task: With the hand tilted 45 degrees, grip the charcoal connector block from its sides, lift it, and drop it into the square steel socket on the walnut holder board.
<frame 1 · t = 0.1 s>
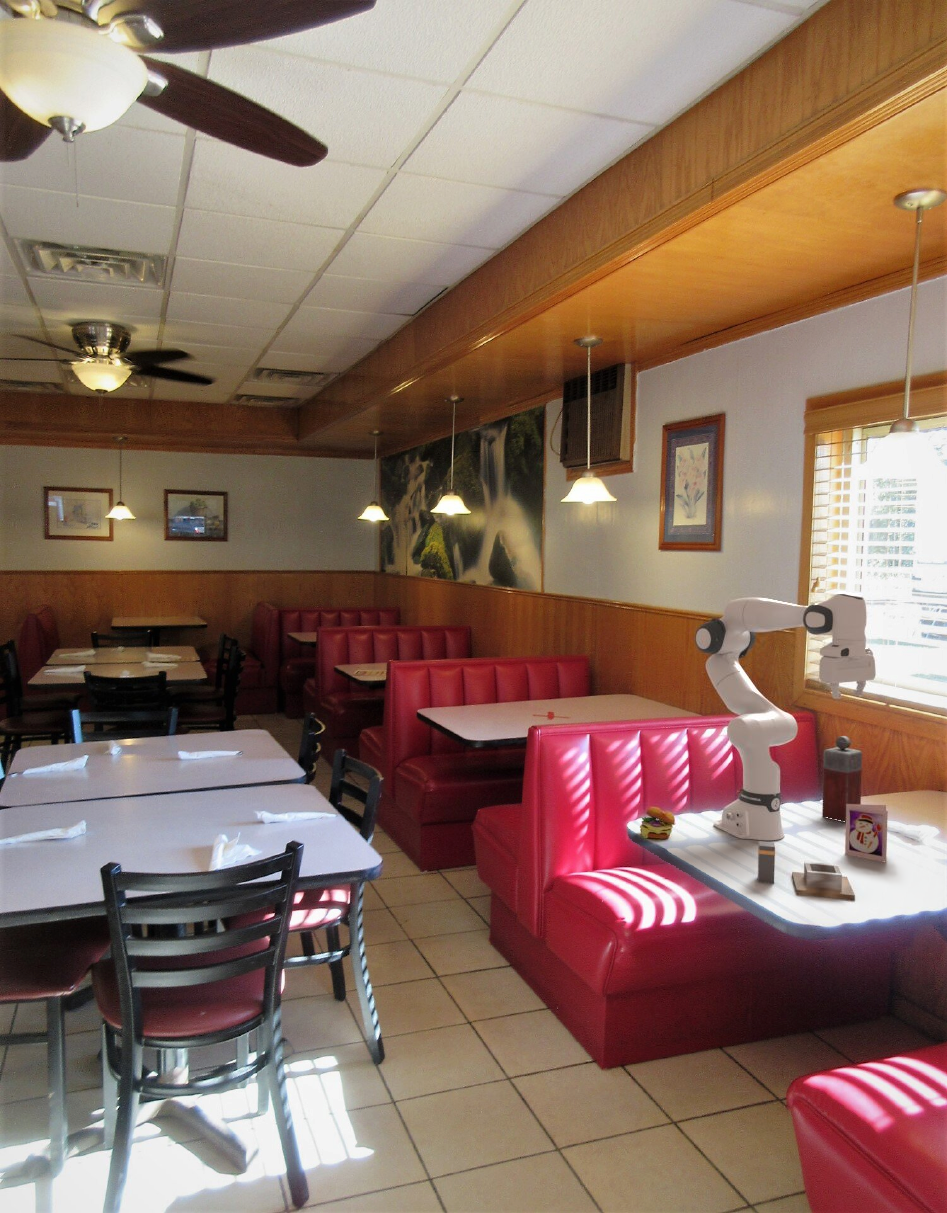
hand: (847, 697, 249), 48 cm above the table, fingers open, 8 cm apart
connector: (765, 880, 237), on the table
cheeseburger: (656, 836, 276), on the table
holder: (822, 887, 231), on the table
pepper mill: (843, 817, 298), on the table
greeting card: (868, 856, 258), on the table
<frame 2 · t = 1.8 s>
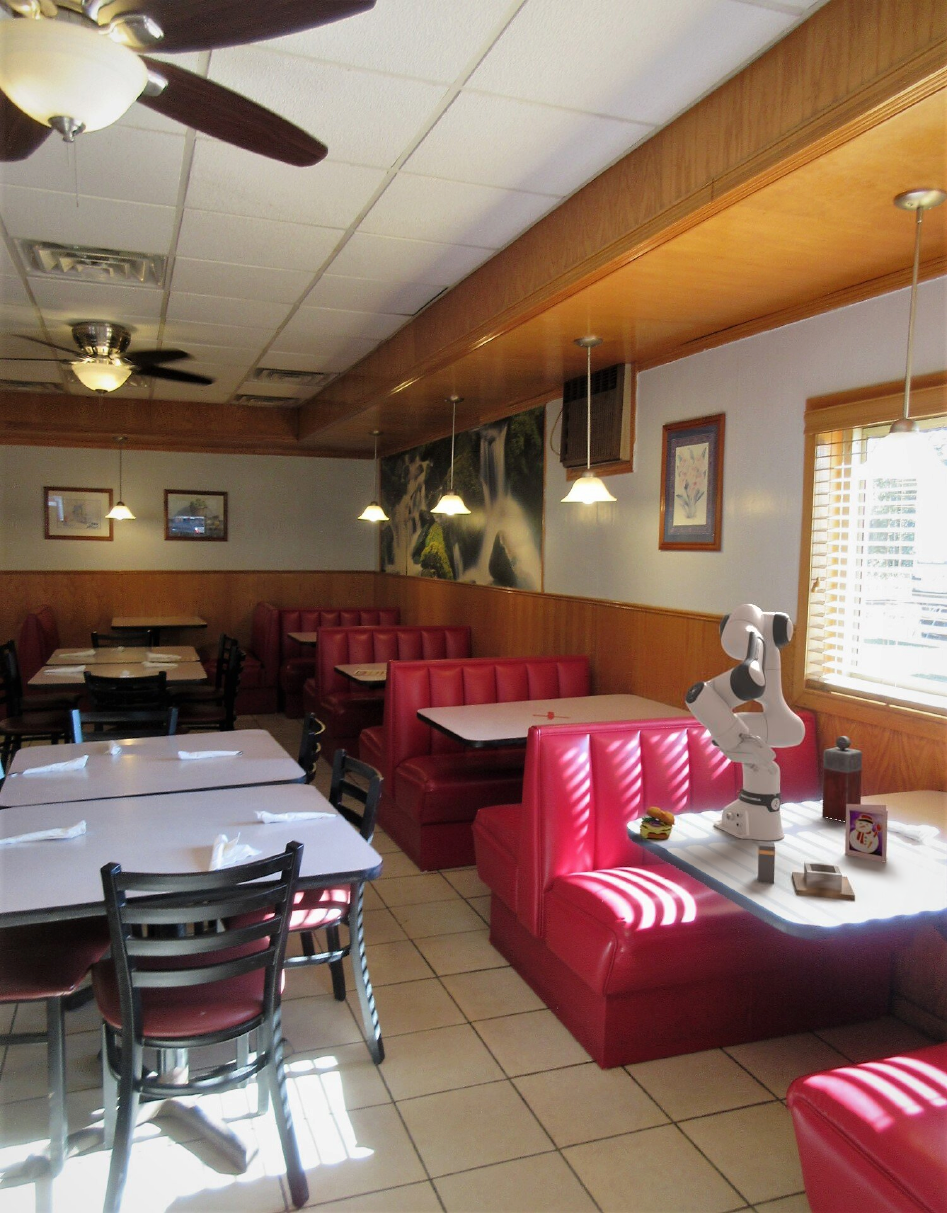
hand: (765, 771, 235), 30 cm above the table, fingers open, 8 cm apart
nothing on the table moved.
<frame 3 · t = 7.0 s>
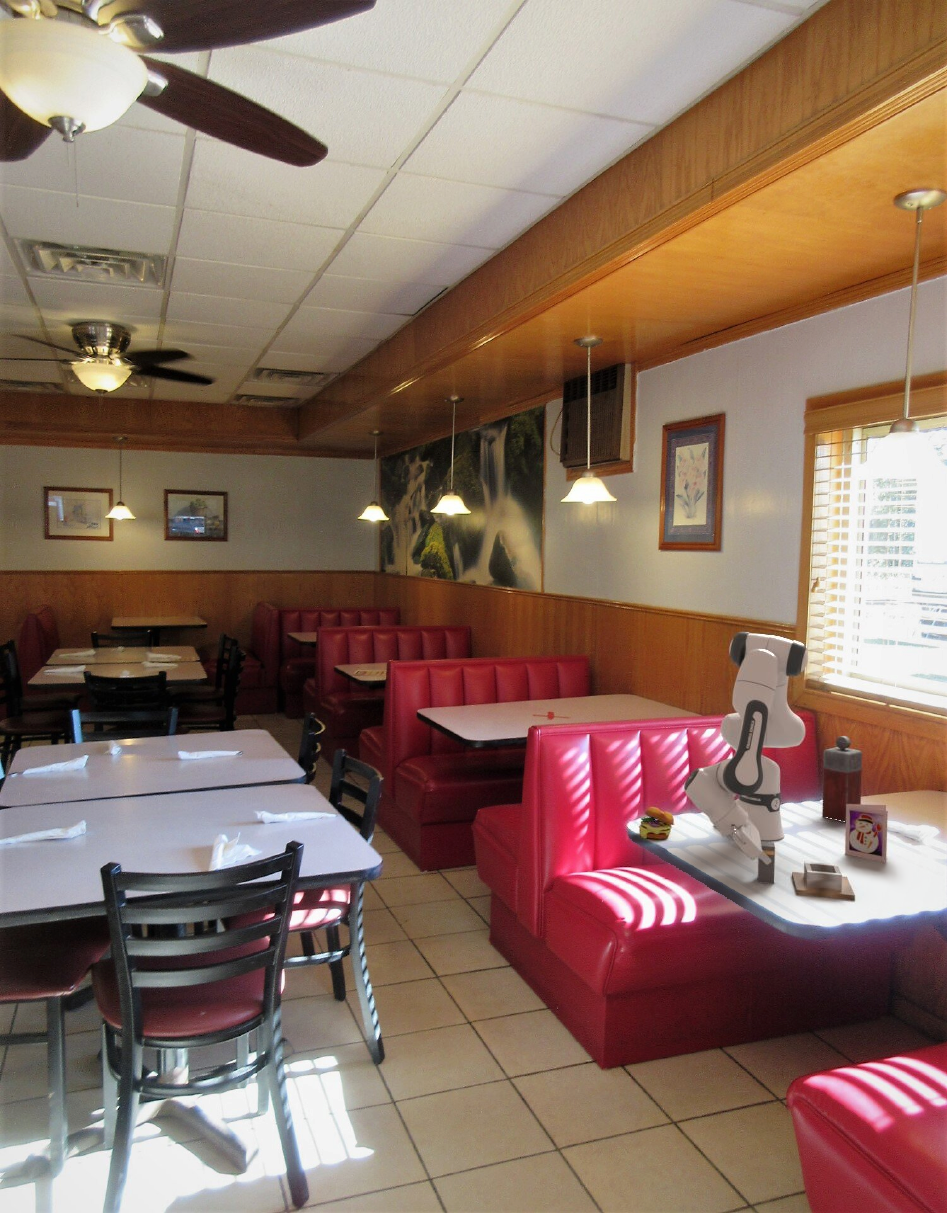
hand: (768, 859, 236), 6 cm above the table, fingers closed on connector, 4 cm apart
connector: (765, 880, 237), on the table, touching gripper
everything else where it was.
when the fingers open (9 cm above the table, at t = 12.1 s): connector drops 1 cm, resting on holder.
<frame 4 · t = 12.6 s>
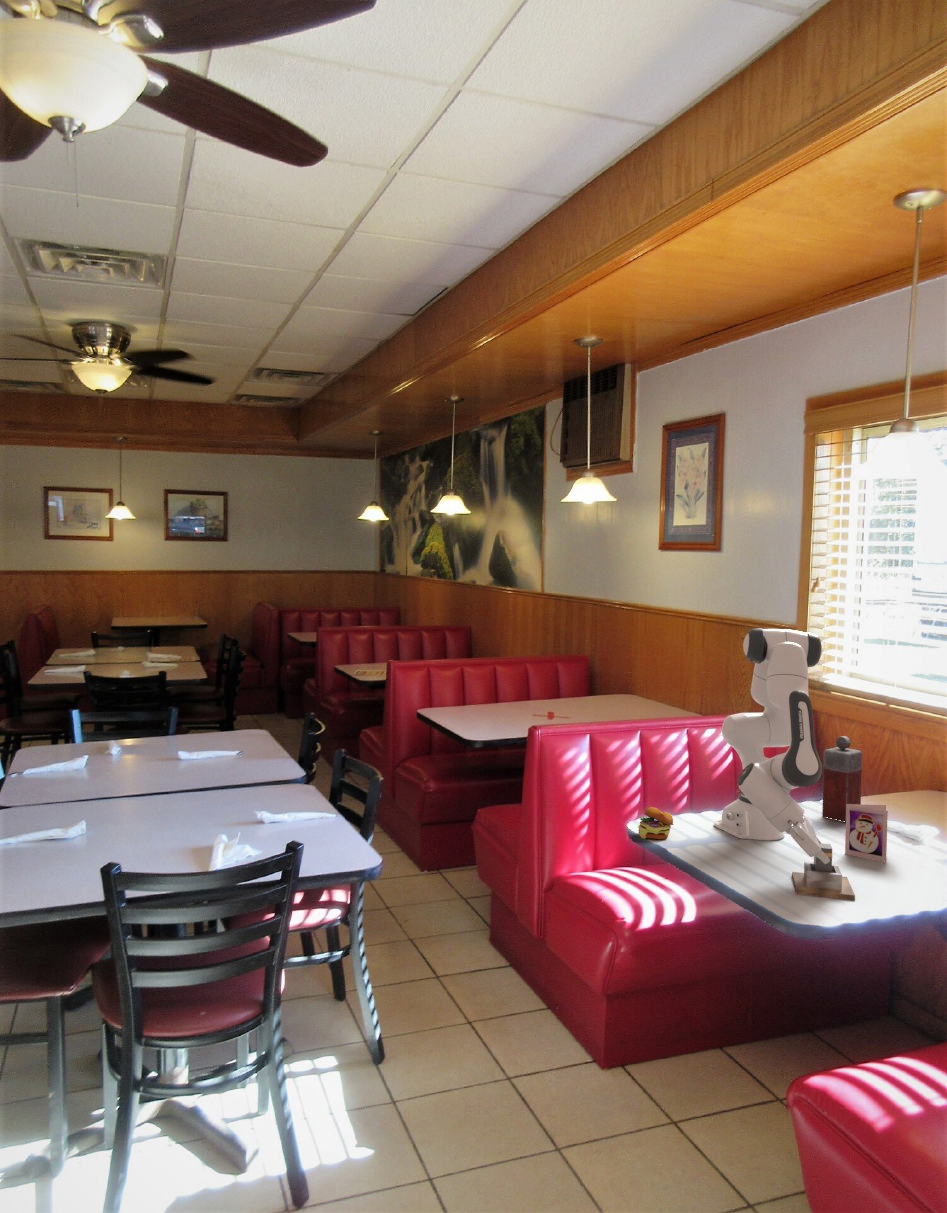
hand: (825, 855, 231), 9 cm above the table, fingers open, 8 cm apart
connector: (822, 882, 231), point 1 cm above the table, touching holder
everything else where it was.
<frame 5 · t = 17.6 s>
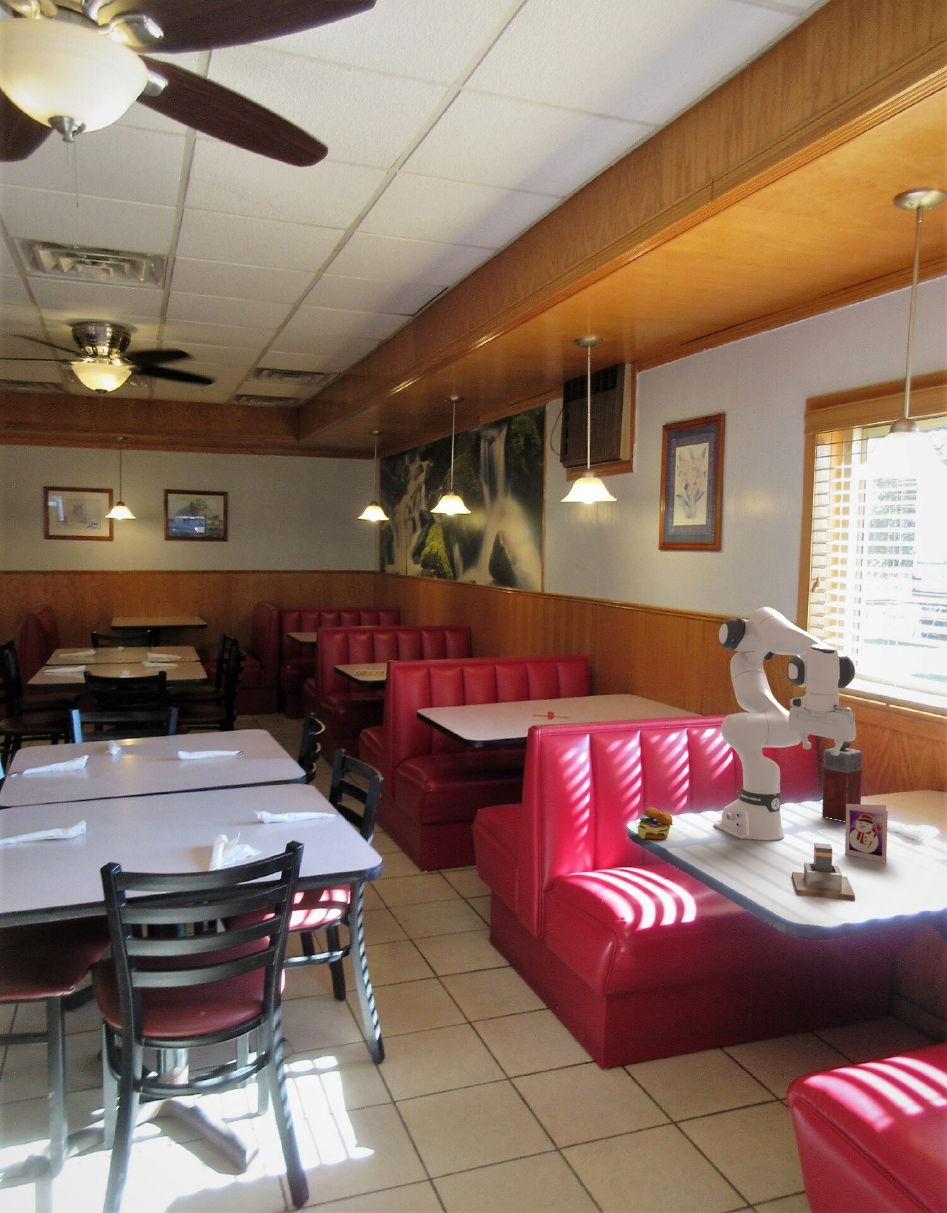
hand: (820, 751, 245), 33 cm above the table, fingers open, 8 cm apart
at the end: connector 0.1 cm off-centre on the holder, point 1.2 cm above the holder's base; connector tilted 0°; the gripper is holding nothing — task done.
